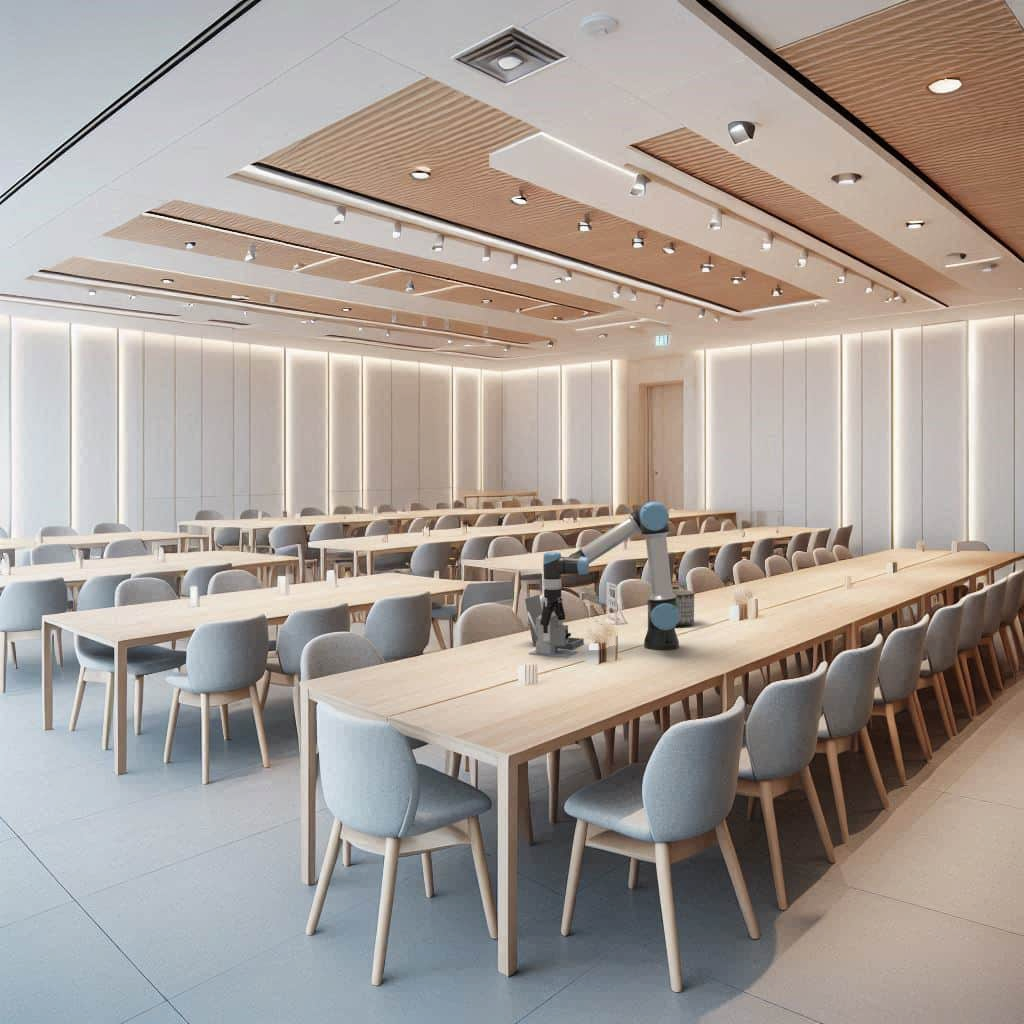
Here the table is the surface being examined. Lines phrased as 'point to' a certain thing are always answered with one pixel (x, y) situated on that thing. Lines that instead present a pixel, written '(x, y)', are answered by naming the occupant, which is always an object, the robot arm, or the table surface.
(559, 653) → the mat
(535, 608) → the case
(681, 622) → the planter
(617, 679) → the table surface
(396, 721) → the table surface
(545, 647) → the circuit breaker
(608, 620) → the film strip holder
